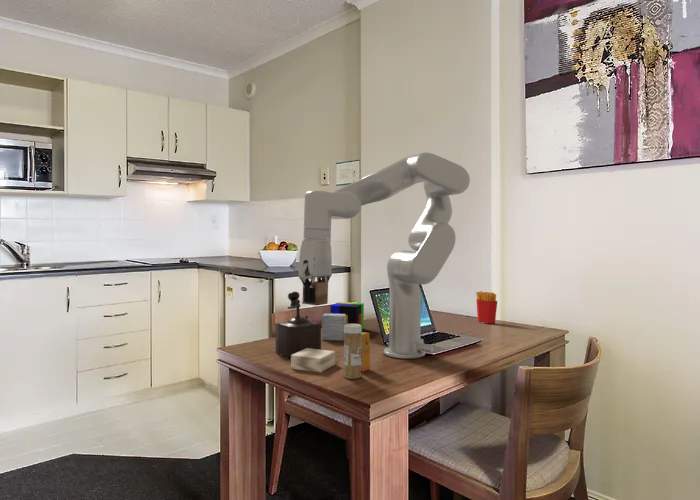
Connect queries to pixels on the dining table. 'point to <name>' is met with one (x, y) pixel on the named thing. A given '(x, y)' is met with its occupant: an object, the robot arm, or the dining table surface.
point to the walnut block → (319, 293)
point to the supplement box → (365, 351)
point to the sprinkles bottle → (352, 351)
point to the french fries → (486, 307)
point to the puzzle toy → (350, 312)
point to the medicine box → (333, 326)
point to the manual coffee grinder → (297, 332)
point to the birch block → (313, 360)
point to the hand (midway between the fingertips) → (315, 300)
